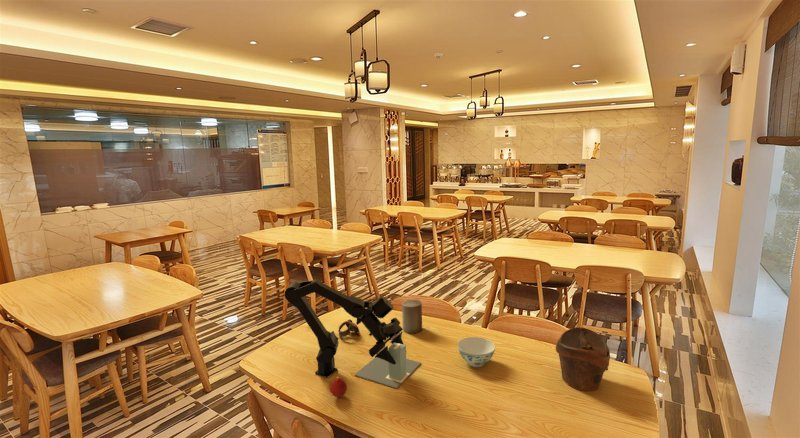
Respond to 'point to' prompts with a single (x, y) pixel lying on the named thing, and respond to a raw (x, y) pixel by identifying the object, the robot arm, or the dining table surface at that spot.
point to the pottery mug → (350, 326)
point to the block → (397, 361)
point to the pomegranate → (338, 387)
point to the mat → (385, 372)
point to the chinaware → (476, 350)
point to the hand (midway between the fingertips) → (400, 358)
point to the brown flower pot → (582, 358)
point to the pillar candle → (412, 316)
